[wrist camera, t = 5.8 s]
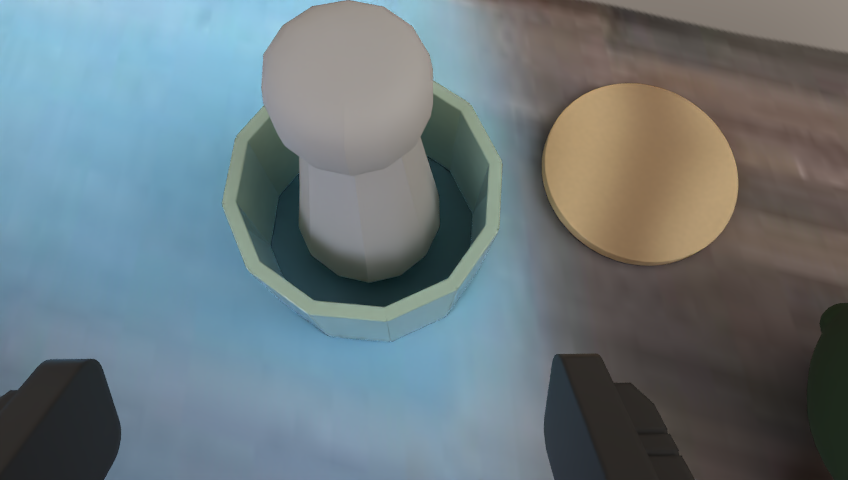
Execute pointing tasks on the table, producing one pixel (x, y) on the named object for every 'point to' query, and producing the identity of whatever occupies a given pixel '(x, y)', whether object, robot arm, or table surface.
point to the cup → (277, 167)
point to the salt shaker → (356, 135)
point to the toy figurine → (830, 391)
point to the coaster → (639, 174)
